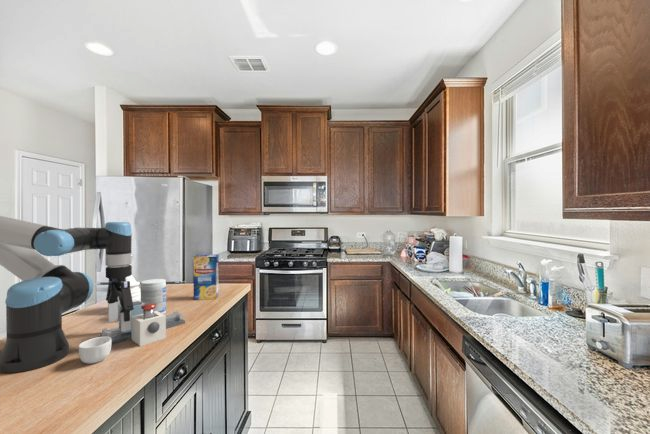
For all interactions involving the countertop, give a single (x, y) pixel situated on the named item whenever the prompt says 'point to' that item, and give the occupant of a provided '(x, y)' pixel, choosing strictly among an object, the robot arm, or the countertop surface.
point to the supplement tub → (154, 293)
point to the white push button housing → (148, 328)
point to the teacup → (95, 349)
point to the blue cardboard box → (206, 277)
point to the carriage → (132, 312)
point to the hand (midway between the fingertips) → (119, 325)
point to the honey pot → (133, 290)
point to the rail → (128, 335)
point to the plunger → (148, 310)
